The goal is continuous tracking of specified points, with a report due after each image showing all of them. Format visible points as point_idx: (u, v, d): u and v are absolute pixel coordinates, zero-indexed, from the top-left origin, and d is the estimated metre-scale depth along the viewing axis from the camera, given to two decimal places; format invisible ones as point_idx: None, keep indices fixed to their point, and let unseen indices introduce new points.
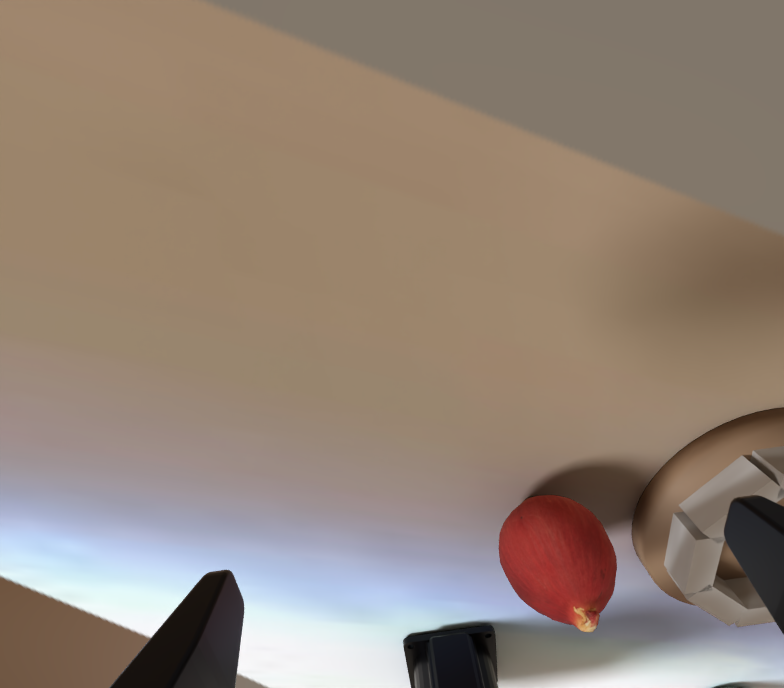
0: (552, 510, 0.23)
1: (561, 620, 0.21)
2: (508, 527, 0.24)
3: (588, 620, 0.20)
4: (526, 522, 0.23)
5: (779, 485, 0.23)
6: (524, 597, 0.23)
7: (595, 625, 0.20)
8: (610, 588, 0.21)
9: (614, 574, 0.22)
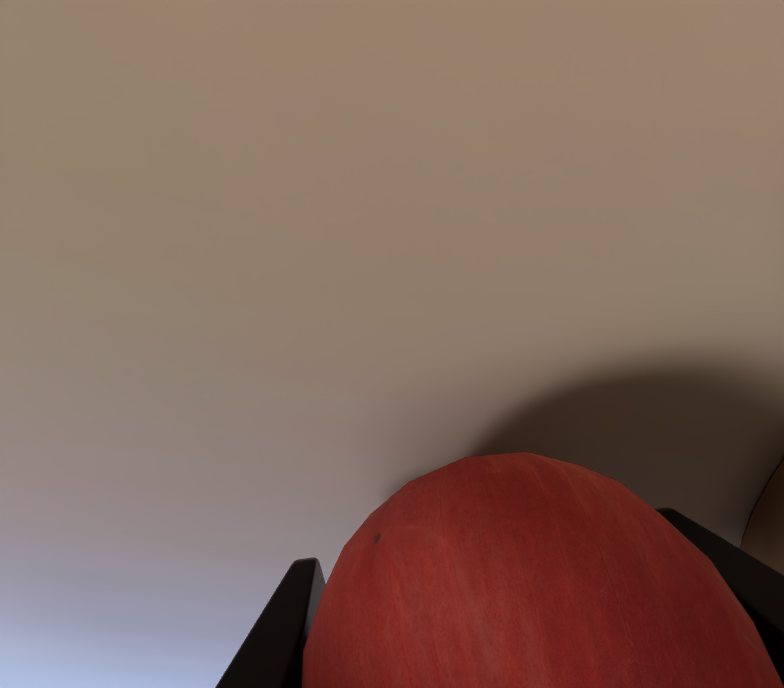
0: (500, 509, 0.05)
1: None
2: (332, 577, 0.06)
3: None
4: (385, 559, 0.05)
5: None
6: None
7: None
8: None
9: None
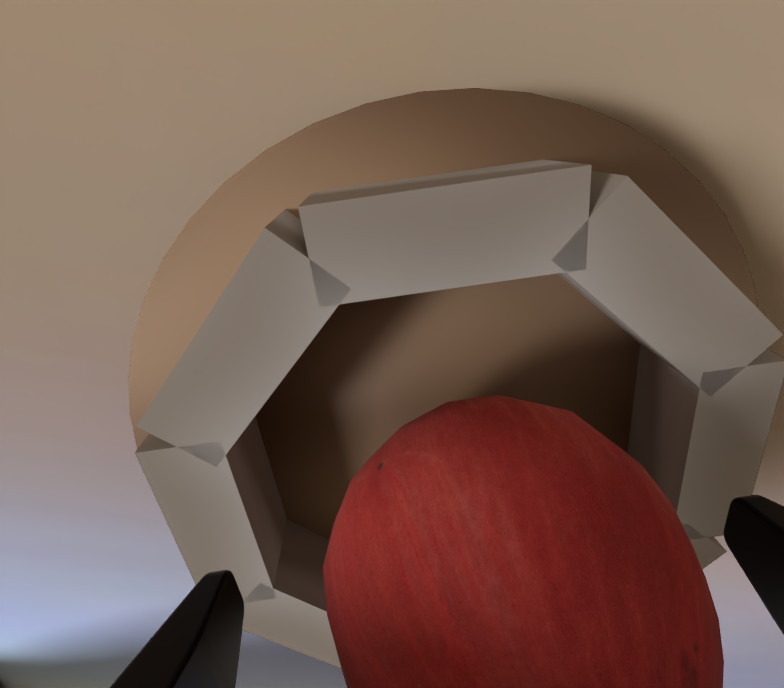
0: (478, 431, 0.06)
1: None
2: (344, 504, 0.07)
3: None
4: (388, 477, 0.06)
5: (306, 254, 0.07)
6: None
7: None
8: None
9: (721, 652, 0.06)
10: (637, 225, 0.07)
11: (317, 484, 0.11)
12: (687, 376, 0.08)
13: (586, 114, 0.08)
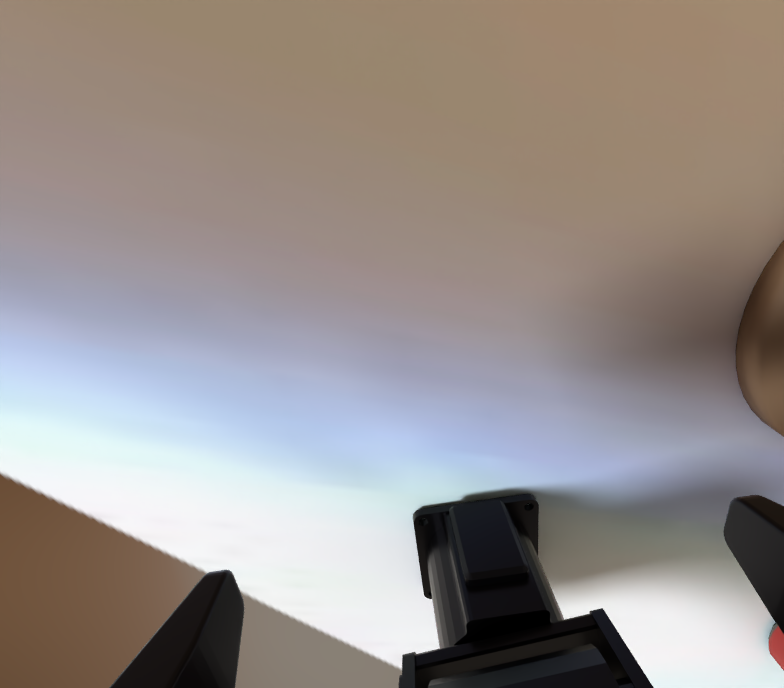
0: None
1: None
2: None
3: None
4: None
5: None
6: None
7: None
8: None
9: None
10: None
11: None
12: None
13: None
